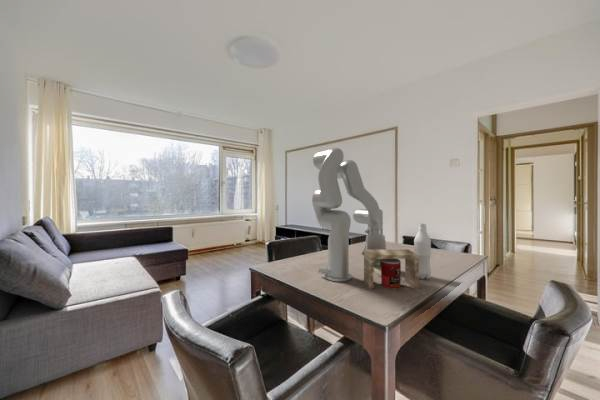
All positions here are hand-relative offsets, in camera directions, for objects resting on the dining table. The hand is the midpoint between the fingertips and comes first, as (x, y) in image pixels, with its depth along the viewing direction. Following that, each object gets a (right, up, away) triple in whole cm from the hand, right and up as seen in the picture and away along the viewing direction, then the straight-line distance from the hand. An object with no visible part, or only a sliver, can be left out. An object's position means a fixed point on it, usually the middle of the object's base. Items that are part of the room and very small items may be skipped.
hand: (375, 266), depth 129 cm
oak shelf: (-1, -1, -23) cm, 23 cm away
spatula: (0, -1, -8) cm, 8 cm away
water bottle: (+18, -1, -14) cm, 23 cm away
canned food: (-1, -2, -24) cm, 24 cm away
